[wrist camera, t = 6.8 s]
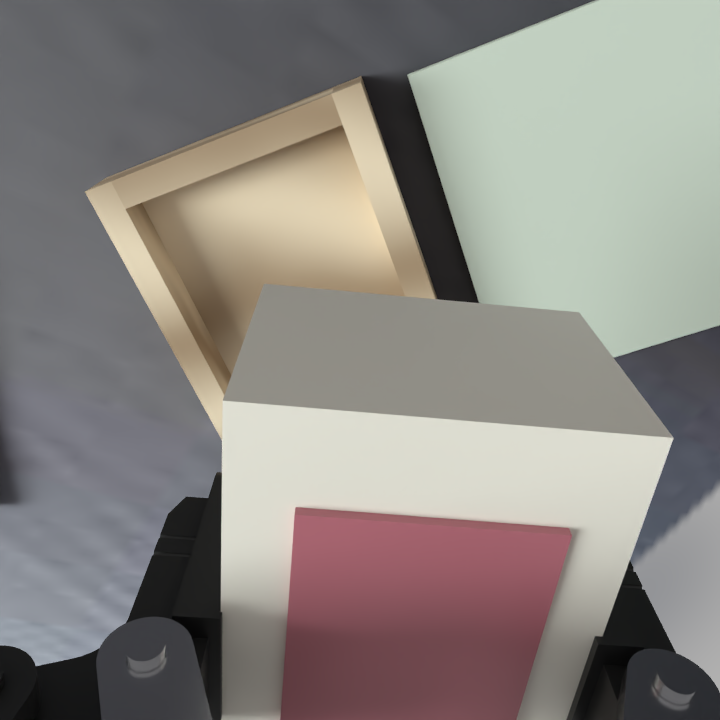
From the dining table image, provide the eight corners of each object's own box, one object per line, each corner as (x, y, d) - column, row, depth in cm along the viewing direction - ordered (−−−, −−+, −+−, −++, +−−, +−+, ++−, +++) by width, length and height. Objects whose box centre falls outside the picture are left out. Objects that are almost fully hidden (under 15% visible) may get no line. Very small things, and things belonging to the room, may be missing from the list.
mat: (773, 301, 27) (780, 306, 27) (504, 384, 29) (506, 390, 29) (736, -56, 22) (744, -57, 21) (407, 74, 24) (408, 75, 23)
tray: (473, 404, 30) (481, 432, 28) (261, 468, 31) (254, 499, 29) (361, 75, 24) (360, 82, 22) (106, 177, 25) (85, 191, 23)
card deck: (263, 284, 12) (220, 407, 8) (579, 312, 12) (679, 444, 8) (250, 652, 16) (216, 848, 12) (486, 667, 16) (525, 864, 12)
